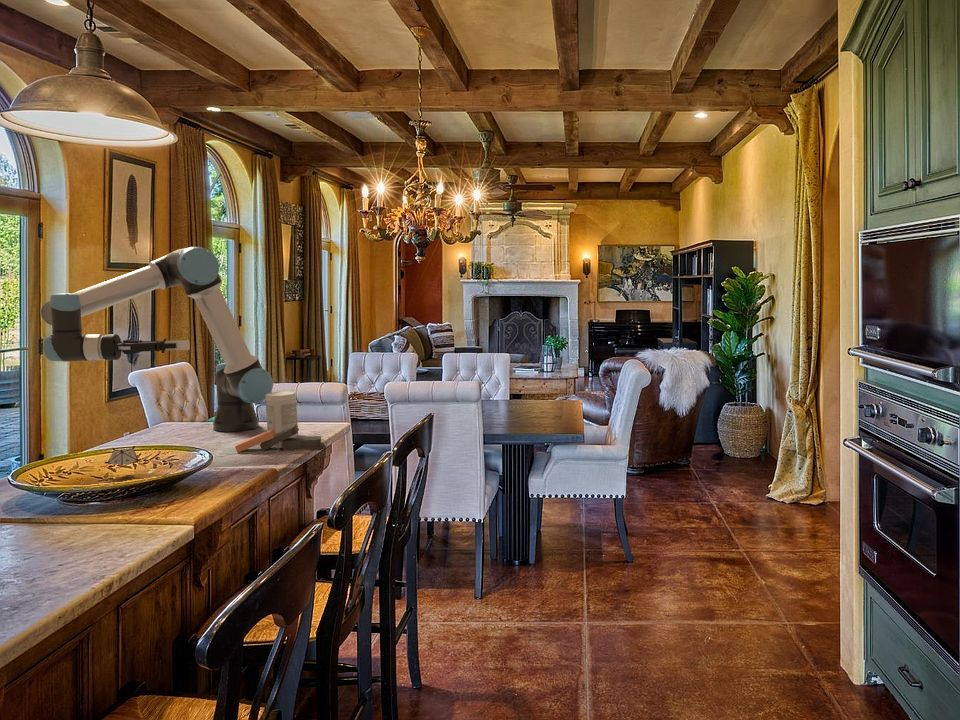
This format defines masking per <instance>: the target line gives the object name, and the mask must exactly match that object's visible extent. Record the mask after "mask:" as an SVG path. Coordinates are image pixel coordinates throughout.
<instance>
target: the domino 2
mask: <svg viewBox="0 0 960 720" xmlns="http://www.w3.org/2000/svg"><path fill="white" fill-rule="evenodd" d="M299 431H300V429H299V426H298V427H297V425H296V424H295V425H293V426H291V427H289V428H287V429H285V430H283V431H281V432H279V433H277V434H276V435H275V437H274V438H272V439H270V440H268V441H265V442H263V443H260V444H259V447H261V449H262V450H263V451H264V450H266V449H268V448H270V447H272V446H276V445H278V444H280V443H282V441H283V440H285V439H287V438H289V437H291V436H293V435H295V434H297V432H298V433H299Z"/></svg>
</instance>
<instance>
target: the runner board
mask: <svg viewBox="0 0 960 720" xmlns="http://www.w3.org/2000/svg"><path fill="white" fill-rule="evenodd" d="M281 449H282V445H277V446H276V445H274V446H272V447H270V448H268V449H266V450H264V451H263V450H262V449H261V447H260V446H253V447H250V448H248V449H246V450H243V451H241V452H238V453H237V450H236V448H235V447H226V448H224V449H223V450H222V451H221V452H220V453H219V455H232V454H234V455H236V454H259V453H275V452H276V453H278V452H280V450H281Z"/></svg>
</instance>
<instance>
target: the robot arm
mask: <svg viewBox="0 0 960 720" xmlns="http://www.w3.org/2000/svg"><path fill="white" fill-rule="evenodd" d="M219 273H220V263H219V260H218V259H217V257H216V255H215V254H214V253H213V252H211V250H209V249H207V248H204V247H201V246H190V247H189V246H188V247H185V248H179V249H176V250H174V251H172V252H169V253H168V254H166V255H164V256H163V255H162V257H159V258H156V259H154V260H152V261H149V262H148V265H147V266H145V267H141V268H139V269H136V270H133V271H131V272H128V273H125V274H123V275H120V276H117V277H115V278H111V279H108V280H106V281H103V282H100V283H98V284H95V285H92V286H89V287H86V288H84V289H81V290H78V291H75V292H73V293H52V294H50V297H49V300H48V301H46V302H44V303H43V304H42V306H41V308H40V310H39V311H40V313H39V314H40V317H41V319H42V320H43V321H44V322H45V323H46V324H47V325H51V328H52V329H51V330H52V332H51V333H52V334H51V335H47V336H46V337H45V338H44V340H43V345H42V349H43V350H42V351H43V354H44V357H45V358H46V360H48V361H51V362H62V363H63V362H84V361H85V362H86V361H87V362H88V361H91V362H92V363H94V364H95V363H97V361H103V360H104V361H105V360H106V361H118V360H120V358H121V357H122V353H123V354H124V355H130V354H138V353H142V352H143V353H144V352H160V351H161V354H164V353H165V351H167V352H168V351H189V350H190V347H191V346H190V345H191V344H190V339H189V340H188V339H187V340H167V338H163V340H141V339H140V340H139V339H138V340H135V339H123V340H121V337H120V335H119V334H117V333H108V334H107V333H106V334H101V333H99V334H98V333H97V334H96V333H95V334H93V333H92V334H83V328H82V327H83V326H82V317H85V316H88V315H91V314H93V313H96V312H98V311H102V310H104V309H107V308H110V307H112V306H115V305H117V304H120V303H123V302H125V301H127V300H130V299H133V298H136V297H138V296H141V295H144V294H147V293H150V292H152V291H155V290H158V289H160V290H163V291H164V290H166V289H168V288H172V287H178V286H182V289H183V290H184V293H185V295H186V296H187V297H189V298H192V299H194V302H195V304H196V306H197V308H198V310H199V312H200V314H201V316H202V319H203V320H204V323H205V324H206V327H207V329H208V331H209V333H210V335H211V337H212V339H213V341H214V343H215V345H216V348H217V350H218V351H219V354H220V356H221V358H222V360H223V363H218V364H216V366H215V380H216V381H215V383H216V386H215V387H216V399H217V400H216V401H217V407H216V411H215V414H214V415H215V416H214V419H213V424H212V425H213V426H212V427H213V430H214V431H217V432H240V431H250V430H254V429H257V428H259V425H260V424H259V423H260V422H259V418H258V416H257V413H256V411H255V408H254V404H258V403H261V402H263V401H265V399H266V394H268V393H272V390H273V387H274V381H273V377H272V375H271V374H270V373H269V372H268V370H266V369H264V368H263V367H262V364H261V363H260V360H259V358H258V356H256V355H254V354H251V352H250V349H249V348H248V346H247V343H246V341H245V339H244V337H243V335H242V333H241V331H240V328H239V326H238V324H237V321H236V320H235V318H234V315H233V314H232V312H231V309H230V308H229V307H230V306H229V305H228V303H227V301H226V298H225V296H224V294H223V292H222V290H221V286H222V283H223V280H222V278H221V277H220V276H221V275H220V274H219Z"/></svg>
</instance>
